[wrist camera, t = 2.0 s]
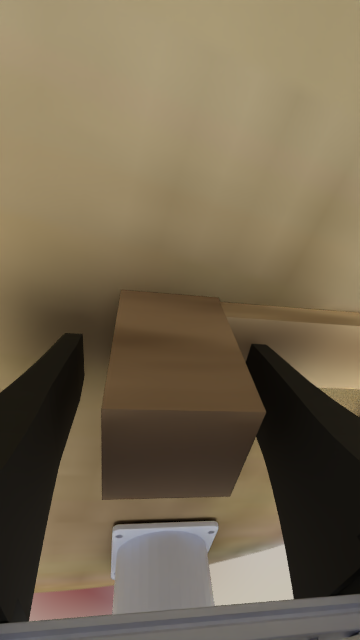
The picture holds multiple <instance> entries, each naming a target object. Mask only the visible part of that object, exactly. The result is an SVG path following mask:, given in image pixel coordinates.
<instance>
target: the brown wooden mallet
mask: <svg viewBox="0 0 360 640" xmlns="http://www.w3.org/2000/svg"><path fill="white" fill-rule="evenodd" d="M251 344H266V345H267V346H269V347H270V348H271V349H272V350H274V351H275V352H276V353H277V354H278V355H279V356H281V357H282V358H283V359H284V360H285V361H286V362H287V363H289V364H290V365H291V366H292V367H293V368H294V369H296V370H297V371H298V372H299V373H300V374H301V375H303V376H304V377H305V378H306V379H307V380H309V381H310V382H311V383H312V384H313V385H315V386H316V387H317V388H342V389H360V313H357V312H344V311H331V310H318V309H305V308H292V307H279V306H266V305H253V304H240V303H227V302H220V301H219V299H218V298H217V297H204V296H192V295H179V294H166V293H154V292H141V291H129V290H121V294H120V300H119V306H118V312H117V318H116V324H115V330H114V336H113V342H112V348H111V354H110V360H109V366H108V372H107V378H106V384H105V390H104V396H103V402H102V408H101V431H102V500H112V499H151V498H190V497H229V496H231V493H232V491H233V489H234V486H235V484H236V482H237V479H238V477H239V475H240V472H241V470H242V468H243V465H244V463H245V461H246V458H247V456H248V454H249V451H250V449H251V447H252V444H253V442H254V440H255V437H256V435H257V433H258V430H259V428H260V426H261V423H262V421H263V419H264V416H265V414H266V410H265V408H264V406H263V403H262V401H261V398H260V396H259V394H258V391H257V389H256V387H255V384H254V382H253V379H252V377H251V375H250V372H249V370H248V368H247V365H246V363H245V362H246V359H247V356H248V353H249V350H250V347H251Z"/></svg>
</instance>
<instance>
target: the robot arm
mask: <svg viewBox="0 0 360 640" xmlns="http://www.w3.org/2000/svg"><path fill="white" fill-rule="evenodd" d="M245 363H246V365H247V368H248V370H249V372H250V375H251V377H252V379H253V382H254V384H255V387H256V389H257V391H258V394H259V396H260V398H261V401H262V403H263V406H264V408H265V410H266V414H265V416H264V419H263V421H262V423H261V426H260V428H259V430H258V433H257V435H256V437H257V440H258V443H259V446H260V448H261V451H262V454H263V457H264V460H265V463H266V466H267V470H268V474H269V478H270V482H271V486H272V489H273V494H274V498H275V502H276V507H277V511H278V515H279V520H280V525H281V530H282V534H283V539H284V544H285V549H286V555H287V560H288V566H289V571H290V578H291V583H292V590H293V596H294V599H293V600H282V601H269V602H258V603H245V604H233V605H221V606H215V605H214V599H213V591H212V584H211V577H210V570H209V563H208V556H207V554H208V551H209V549H210V547H211V545H212V542H213V540H214V538H215V535H216V533H217V531H218V523H217V522H216V521H194V522H168V523H142V524H119V525H115V526H114V527H113V531H112V558H111V579H113V580H115V585H114V600H113V612H112V613H113V614H112V615H102V616H89V617H77V618H65V619H53V620H41V621H30V622H29V617H30V611H31V605H32V599H33V594H34V588H35V583H36V577H37V572H38V566H39V561H40V556H41V551H42V545H43V540H44V535H45V530H46V525H47V520H48V515H49V510H50V506H51V501H52V496H53V491H54V487H55V482H56V478H57V473H58V468H59V465H60V461H61V457H62V454H63V451H64V448H65V445H66V442H67V439H68V435H69V432H70V429H71V426H72V423H73V420H74V417H75V414H76V411H77V407H78V404H79V401H80V397H81V392H82V386H83V381H84V376H85V375H84V353H83V334H70V333H65V334H64V335H63V336H62V337H61V338H60V339H59V340H58V341H57V342H56V343H55V344H54V345H53V346H52V347H51V348H50V349H49V350H48V351H47V352H46V353H45V354H44V355H43V356H42V357H41V358H40V359H39V360H38V361H37V362H36V363H35V364H33V365H32V366H31V367H30V368H29V369H28V370H27V371H26V372H25V373H24V374H22V375H21V376H20V377H19V378H18V379H16V380H15V381H14V382H13V383H12V384H11V385H9V386H8V387H7V388H6V389H4V390H3V391H2V392H1V393H0V640H360V417H358V416H356V415H355V414H353V413H352V412H350V411H349V410H347V409H346V408H344V407H343V406H342V405H340V404H339V403H337V402H336V401H334V400H333V399H332V398H330V397H329V396H328V395H326V394H325V393H324V392H322V391H321V390H320V389H319V388H317V387H316V386H315V385H313V384H312V383H311V382H310V381H309V380H307V379H306V378H305V377H304V376H303V375H301V374H300V373H299V372H298V371H297V370H296V369H294V368H293V367H292V366H291V365H290V364H289V363H287V362H286V361H285V360H284V359H283V358H282V357H281V356H279V355H278V354H277V353H276V352H275V351H274V350H272V349H271V348H270V347H269V346H267V345H266V344H251V347H250V350H249V353H248V356H247V359H246V362H245Z"/></svg>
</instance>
